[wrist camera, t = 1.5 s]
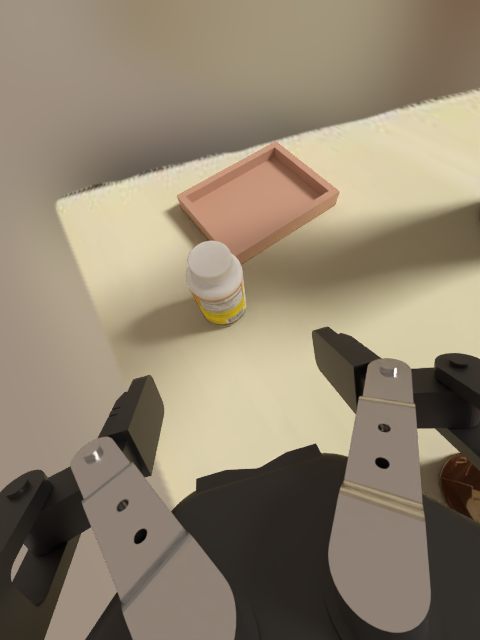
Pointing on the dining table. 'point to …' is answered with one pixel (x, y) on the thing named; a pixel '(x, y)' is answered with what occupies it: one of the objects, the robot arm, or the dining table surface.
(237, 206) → the tray
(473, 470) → the coffee cup
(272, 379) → the dining table surface
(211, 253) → the supplement bottle
